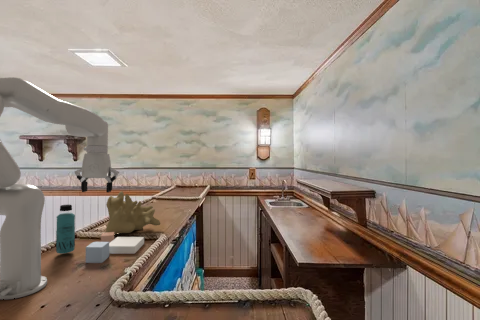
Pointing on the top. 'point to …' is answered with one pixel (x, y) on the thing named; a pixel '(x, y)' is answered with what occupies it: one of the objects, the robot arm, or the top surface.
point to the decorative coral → (128, 215)
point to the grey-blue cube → (97, 252)
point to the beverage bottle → (65, 230)
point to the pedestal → (125, 245)
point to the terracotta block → (107, 237)
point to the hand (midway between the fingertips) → (96, 191)
